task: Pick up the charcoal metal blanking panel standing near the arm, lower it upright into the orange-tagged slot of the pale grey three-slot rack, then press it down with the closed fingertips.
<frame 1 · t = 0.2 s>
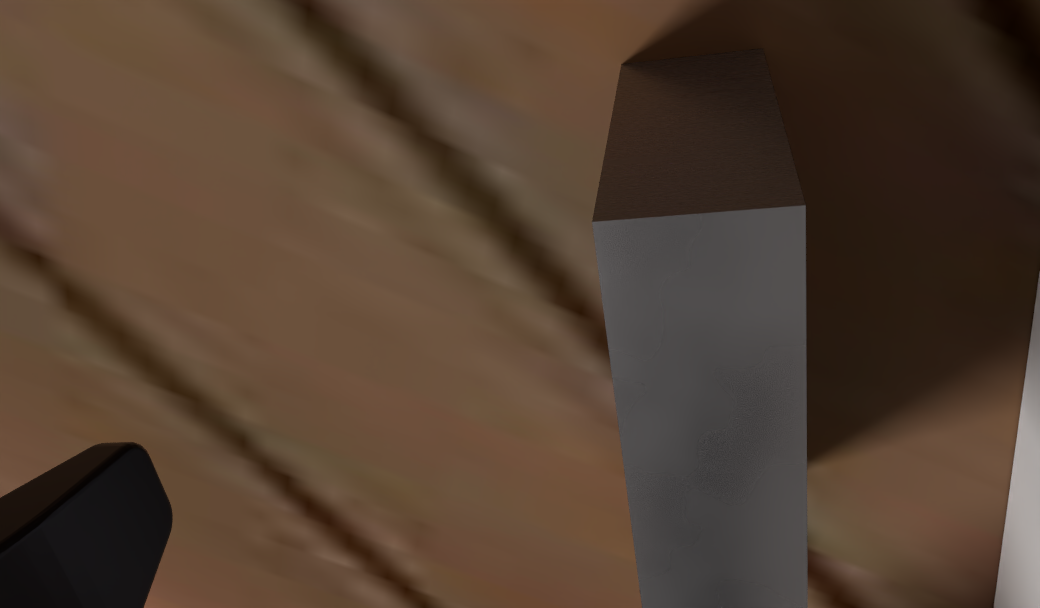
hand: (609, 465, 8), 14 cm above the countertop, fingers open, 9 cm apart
blanking panel: (706, 294, 23), on the countertop
when the fingers open (4 cm above the countertop, at t = 7.8 s): blanking panel stays where it is, resting on panel rack.
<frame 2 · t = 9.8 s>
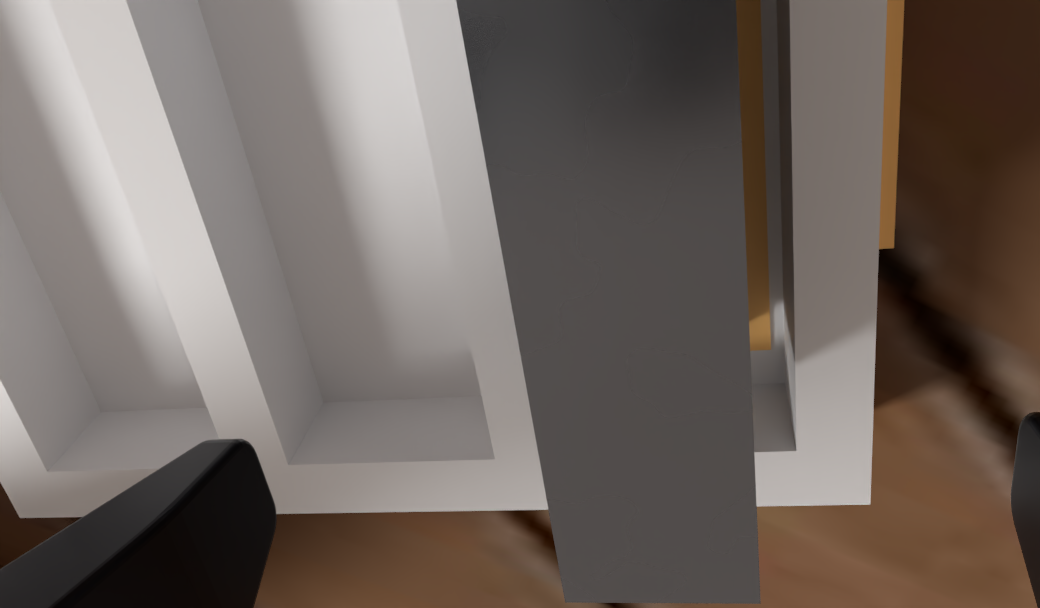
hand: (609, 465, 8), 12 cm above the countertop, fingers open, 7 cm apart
panel rack: (350, 104, 20), on the countertop
blanking panel: (644, 75, 18), point 1 cm above the countertop, touching panel rack
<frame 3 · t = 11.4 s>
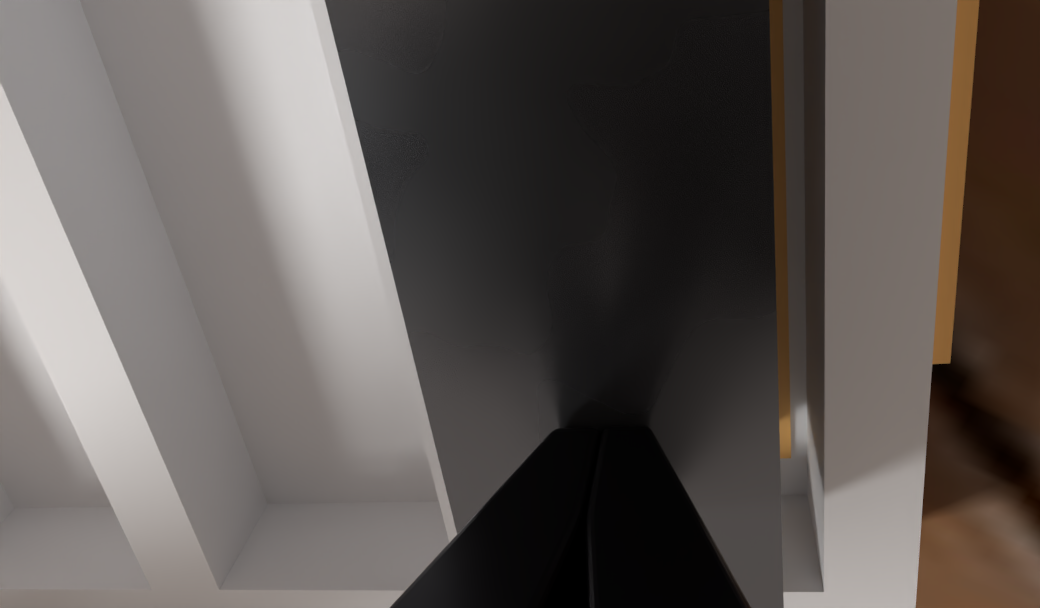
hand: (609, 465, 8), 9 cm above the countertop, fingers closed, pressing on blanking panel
panel rack: (287, 169, 17), on the countertop
blanking panel: (639, 141, 15), point 1 cm above the countertop, touching gripper, panel rack
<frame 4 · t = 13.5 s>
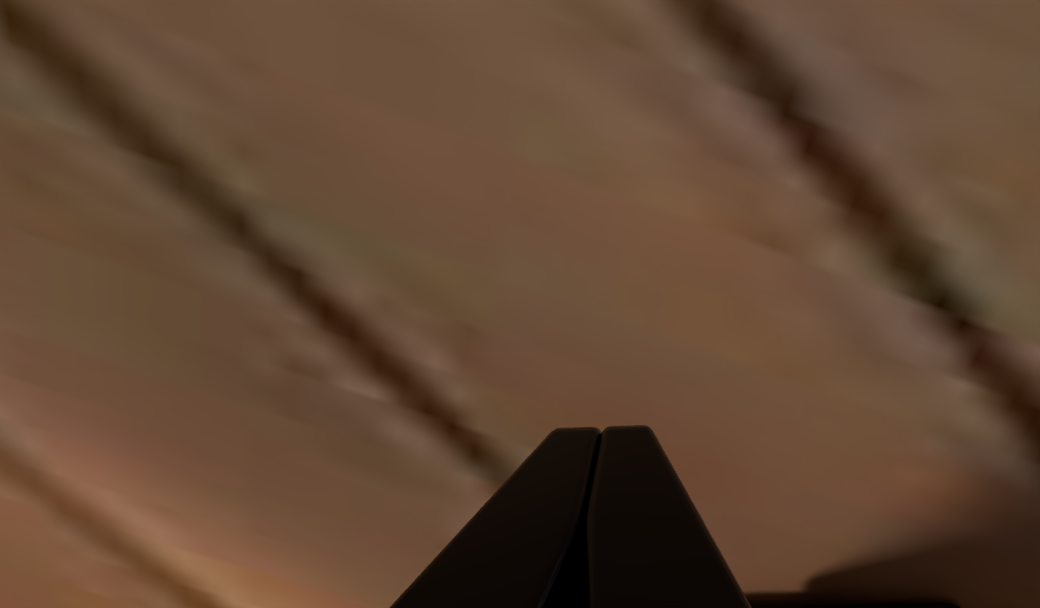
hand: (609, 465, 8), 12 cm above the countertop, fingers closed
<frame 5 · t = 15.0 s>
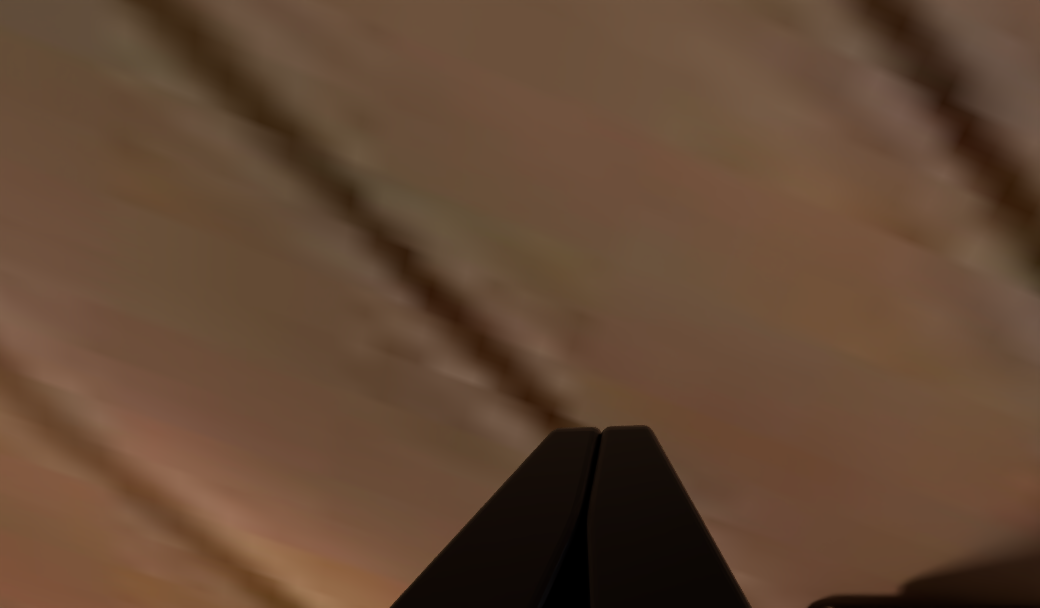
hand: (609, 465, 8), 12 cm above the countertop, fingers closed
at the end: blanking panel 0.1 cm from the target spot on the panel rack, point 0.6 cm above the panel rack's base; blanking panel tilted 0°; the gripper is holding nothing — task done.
